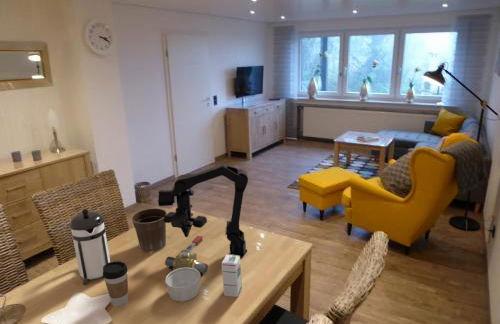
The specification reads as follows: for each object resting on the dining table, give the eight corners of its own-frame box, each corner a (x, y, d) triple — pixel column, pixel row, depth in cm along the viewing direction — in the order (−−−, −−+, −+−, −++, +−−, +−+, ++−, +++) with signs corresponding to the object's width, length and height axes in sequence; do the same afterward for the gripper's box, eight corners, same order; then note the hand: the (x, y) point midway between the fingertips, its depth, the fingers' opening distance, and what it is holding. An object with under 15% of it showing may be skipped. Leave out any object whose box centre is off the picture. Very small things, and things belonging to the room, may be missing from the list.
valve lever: (186, 257, 144) (186, 253, 144) (180, 256, 145) (179, 252, 145) (203, 240, 158) (203, 236, 157) (197, 239, 159) (196, 235, 158)
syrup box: (238, 297, 131) (237, 263, 127) (223, 295, 132) (221, 262, 128) (241, 288, 136) (240, 255, 132) (227, 286, 137) (225, 253, 133)
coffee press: (124, 266, 152) (114, 202, 144) (98, 288, 138) (86, 219, 129) (91, 260, 158) (80, 198, 149) (63, 281, 143) (49, 214, 134)
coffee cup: (111, 294, 134) (106, 260, 130) (134, 293, 135) (129, 258, 131) (104, 309, 126) (98, 273, 122) (128, 307, 127) (123, 271, 123)
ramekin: (182, 278, 143) (181, 263, 141) (208, 288, 137) (207, 272, 135) (159, 297, 132) (157, 281, 130) (186, 308, 126) (185, 292, 124)
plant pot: (127, 251, 164) (123, 219, 160) (149, 235, 179) (145, 206, 174) (156, 257, 159) (152, 225, 154) (176, 240, 173) (173, 210, 168)
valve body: (209, 270, 148) (208, 255, 146) (202, 278, 143) (201, 263, 141) (172, 262, 154) (170, 248, 152) (164, 270, 149) (162, 256, 147)
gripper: (154, 209, 148) (158, 242, 152) (193, 214, 141) (196, 249, 146) (169, 199, 158) (172, 230, 162) (206, 204, 151) (208, 236, 156)
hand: (186, 236), depth 156 cm, fingers closed
